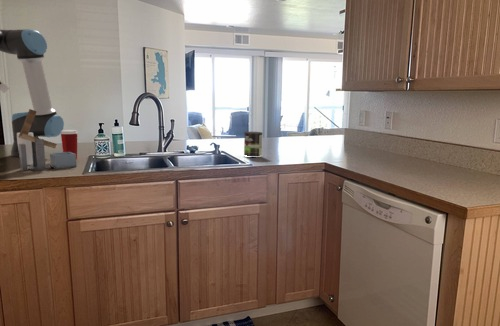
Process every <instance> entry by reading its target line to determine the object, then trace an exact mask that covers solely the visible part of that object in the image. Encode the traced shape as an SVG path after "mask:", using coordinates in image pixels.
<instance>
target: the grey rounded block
mask: <svg viewBox="0 0 500 326" xmlns="http://www.w3.org/2000/svg"><path fill="white" fill-rule="evenodd" d="M49 161H50V167H51V168H54V169H59V170H60V169H67V168H68V169H69V168H76V167H77V166H78V165H77V160H76V154H75V153H72V152H63V151H62V152H61V151H60V152H49Z"/></svg>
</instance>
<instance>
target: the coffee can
mask: <svg viewBox="0 0 500 326" xmlns="http://www.w3.org/2000/svg"><path fill="white" fill-rule="evenodd" d="M243 145H244V147H243V149H244V150H243V153H244V154H243V156H244V155H247V156H260V155H262V152H263V150H262V148H263V132H261V131H245V132H244V144H243Z"/></svg>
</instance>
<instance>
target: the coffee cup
mask: <svg viewBox="0 0 500 326" xmlns="http://www.w3.org/2000/svg"><path fill="white" fill-rule="evenodd" d="M78 134H79V132H78V130H76V129H63V130H62V131H61V133H60V138H61V144H62V145H61V146H62V152H72V153H75V154H76V161H77V160H78Z"/></svg>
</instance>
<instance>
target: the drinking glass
mask: <svg viewBox="0 0 500 326" xmlns="http://www.w3.org/2000/svg"><path fill="white" fill-rule="evenodd" d="M19 134H20V133H17V144H18V149H19V144H25V145H26V156H27V166H33V159H32V146H31V141H28V140H25V139H22V138H19ZM28 135H30V136H33V137H34V135H33V133H32V132H29V133H28Z"/></svg>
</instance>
